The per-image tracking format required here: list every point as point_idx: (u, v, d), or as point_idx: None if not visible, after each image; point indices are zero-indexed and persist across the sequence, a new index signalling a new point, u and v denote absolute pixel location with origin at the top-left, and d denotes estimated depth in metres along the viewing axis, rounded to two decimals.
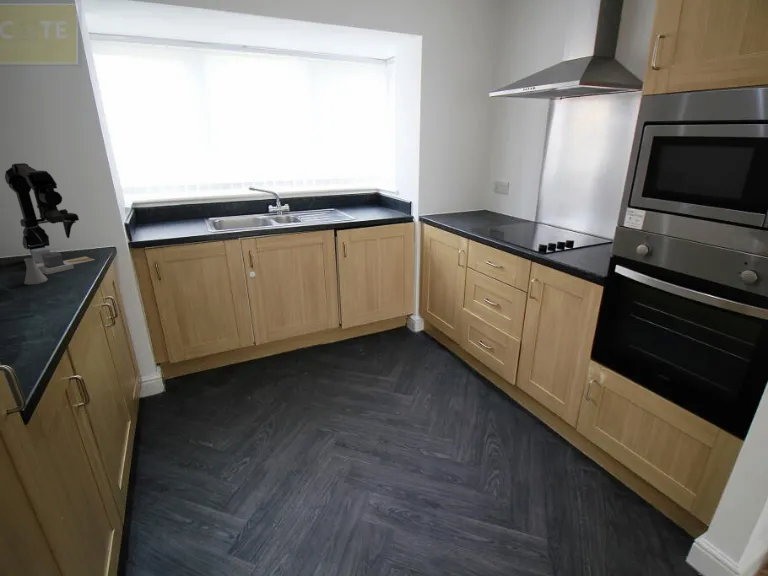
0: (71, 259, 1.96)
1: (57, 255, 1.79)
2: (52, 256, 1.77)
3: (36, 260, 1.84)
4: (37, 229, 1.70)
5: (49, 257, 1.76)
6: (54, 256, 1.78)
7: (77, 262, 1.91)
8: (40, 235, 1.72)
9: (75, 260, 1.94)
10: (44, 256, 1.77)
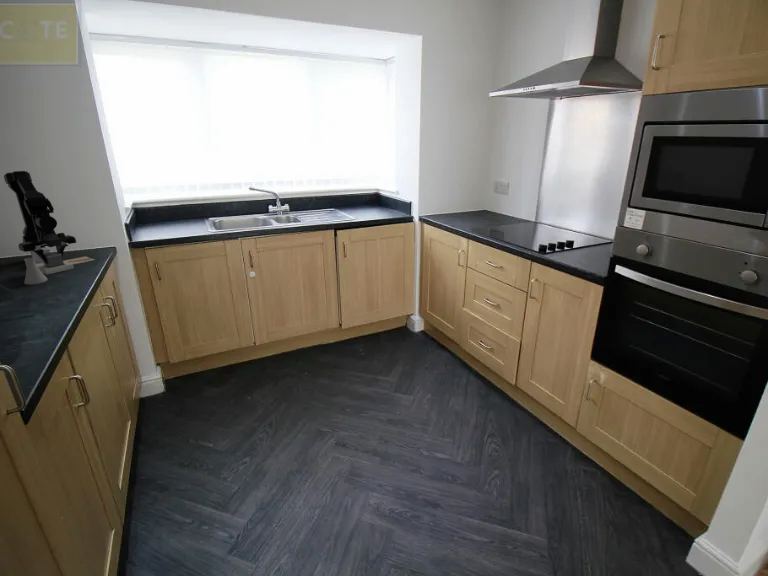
0: (71, 259, 1.96)
1: (57, 255, 1.79)
2: (52, 256, 1.77)
3: (36, 260, 1.84)
4: (41, 252, 1.74)
5: (49, 257, 1.76)
6: (54, 256, 1.78)
7: (77, 262, 1.91)
8: (43, 257, 1.76)
9: (75, 260, 1.94)
10: None
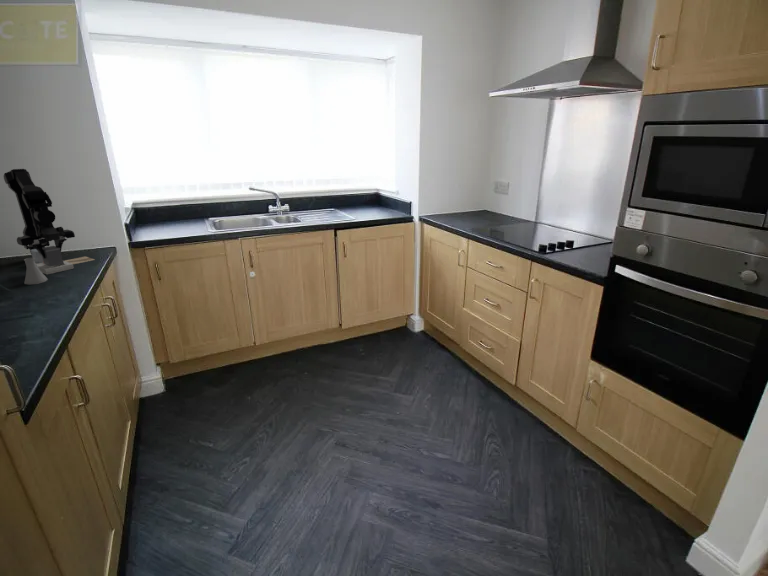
0: (71, 259, 1.96)
1: (55, 249, 1.78)
2: (50, 250, 1.76)
3: (36, 260, 1.84)
4: (39, 246, 1.73)
5: (47, 251, 1.75)
6: (52, 250, 1.77)
7: (77, 262, 1.91)
8: (42, 251, 1.75)
9: (75, 260, 1.94)
10: None
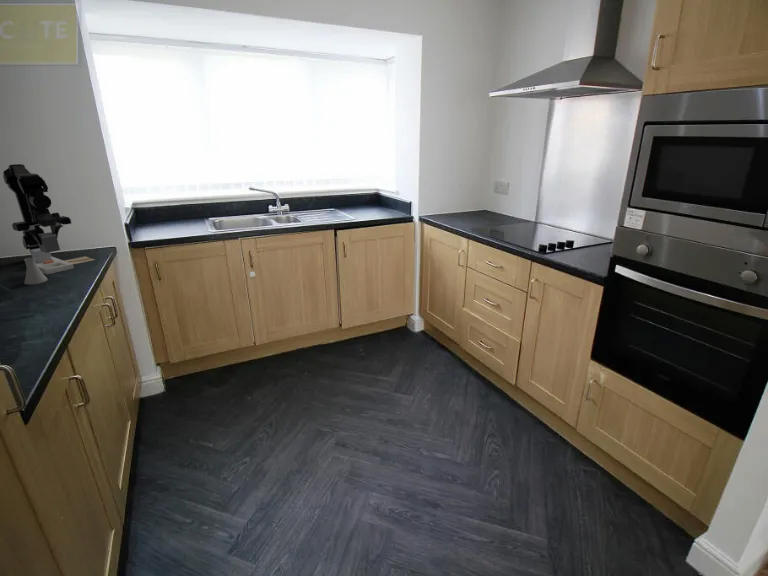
0: (71, 259, 1.96)
1: (52, 236, 1.76)
2: (46, 236, 1.74)
3: (36, 260, 1.84)
4: (35, 232, 1.71)
5: (43, 237, 1.73)
6: (49, 236, 1.75)
7: (77, 262, 1.91)
8: (38, 238, 1.73)
9: (75, 260, 1.94)
10: None
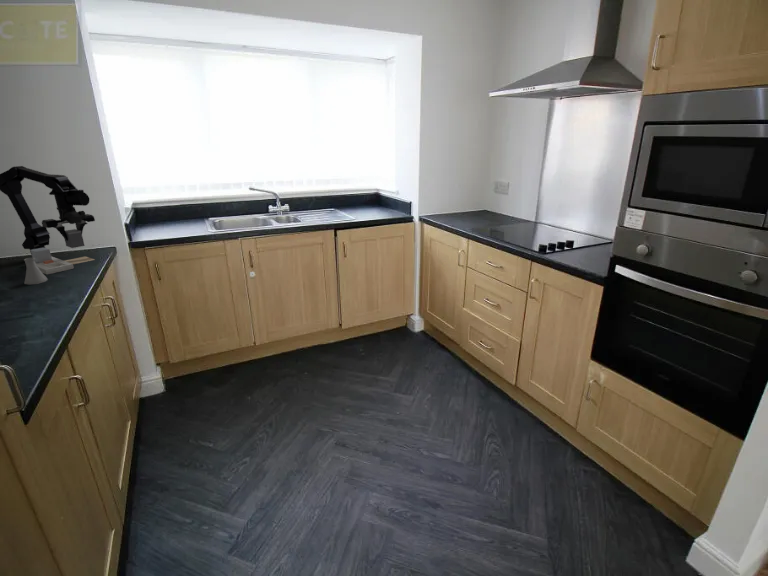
0: (71, 259, 1.96)
1: (77, 232, 1.89)
2: (73, 233, 1.88)
3: (36, 260, 1.84)
4: (62, 228, 1.85)
5: (70, 234, 1.87)
6: (74, 233, 1.88)
7: (77, 262, 1.91)
8: (65, 234, 1.87)
9: (75, 260, 1.94)
10: None
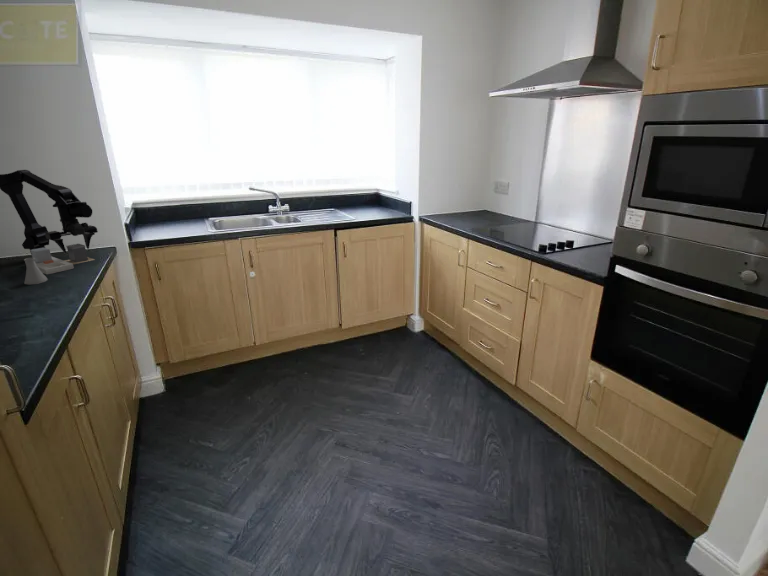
0: None
1: (81, 247, 1.91)
2: (76, 248, 1.90)
3: (36, 260, 1.84)
4: (60, 241, 1.85)
5: (74, 248, 1.89)
6: (78, 248, 1.91)
7: (77, 262, 1.91)
8: (63, 246, 1.87)
9: None
10: (69, 248, 1.90)
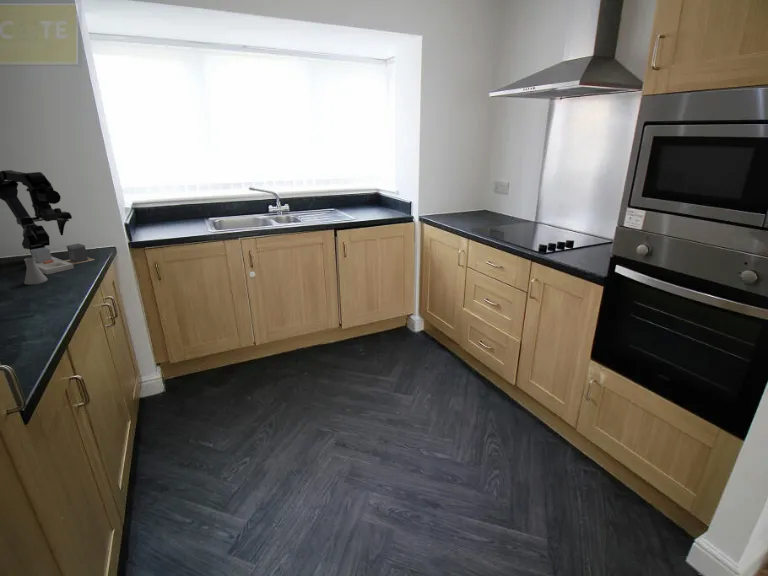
0: None
1: (81, 247, 1.91)
2: (76, 248, 1.90)
3: (36, 260, 1.84)
4: (32, 227, 1.81)
5: (74, 248, 1.89)
6: (78, 248, 1.91)
7: (77, 262, 1.91)
8: (35, 232, 1.83)
9: None
10: (69, 248, 1.90)
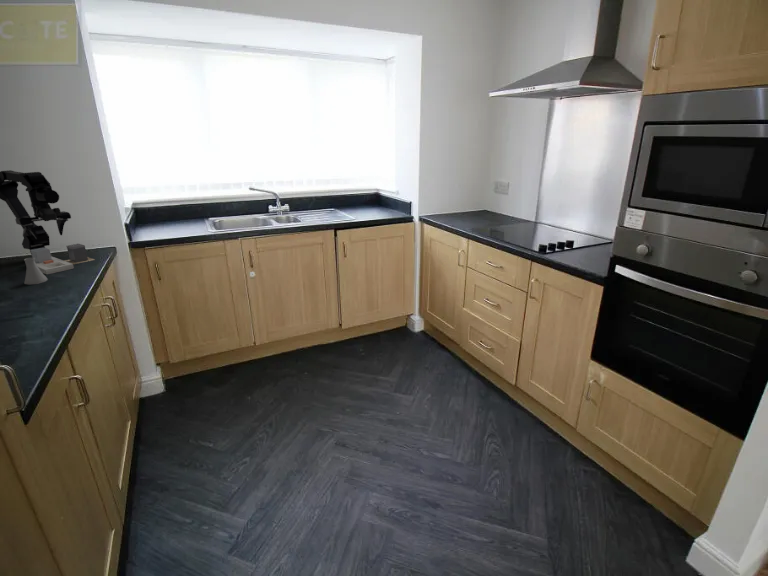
0: None
1: (81, 247, 1.91)
2: (76, 248, 1.90)
3: (36, 260, 1.84)
4: (31, 226, 1.80)
5: (74, 248, 1.89)
6: (78, 248, 1.91)
7: (77, 262, 1.91)
8: (34, 232, 1.82)
9: None
10: (69, 248, 1.90)
